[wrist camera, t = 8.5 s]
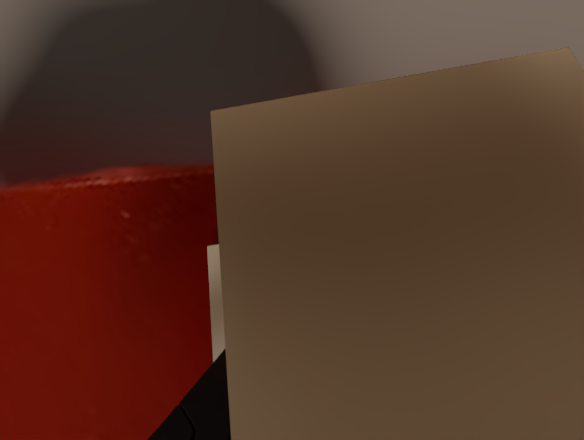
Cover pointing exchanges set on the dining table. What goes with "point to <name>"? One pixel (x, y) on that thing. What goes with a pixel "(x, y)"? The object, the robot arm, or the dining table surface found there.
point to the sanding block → (407, 256)
